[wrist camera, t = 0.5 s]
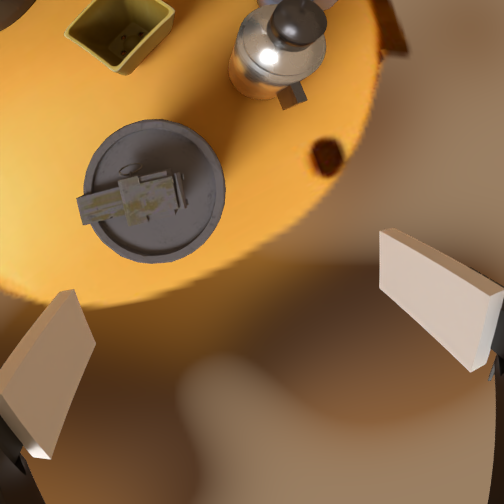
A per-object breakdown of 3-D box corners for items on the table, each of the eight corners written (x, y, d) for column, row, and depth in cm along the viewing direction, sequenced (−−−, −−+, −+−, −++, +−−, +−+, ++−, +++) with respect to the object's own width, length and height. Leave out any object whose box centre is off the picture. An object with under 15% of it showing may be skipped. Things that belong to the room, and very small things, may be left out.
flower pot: (182, 37, 32) (177, 9, 24) (134, 88, 34) (115, 73, 25) (134, 5, 30) (119, -26, 21) (88, 54, 31) (61, 33, 22)
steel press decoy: (218, 53, 34) (229, -11, 17) (277, 34, 34) (324, -29, 17) (249, 123, 37) (283, 104, 20) (307, 102, 37) (376, 76, 20)
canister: (209, 124, 36) (212, 99, 18) (223, 207, 40) (241, 261, 21) (122, 144, 35) (49, 143, 17) (139, 224, 39) (88, 291, 20)
